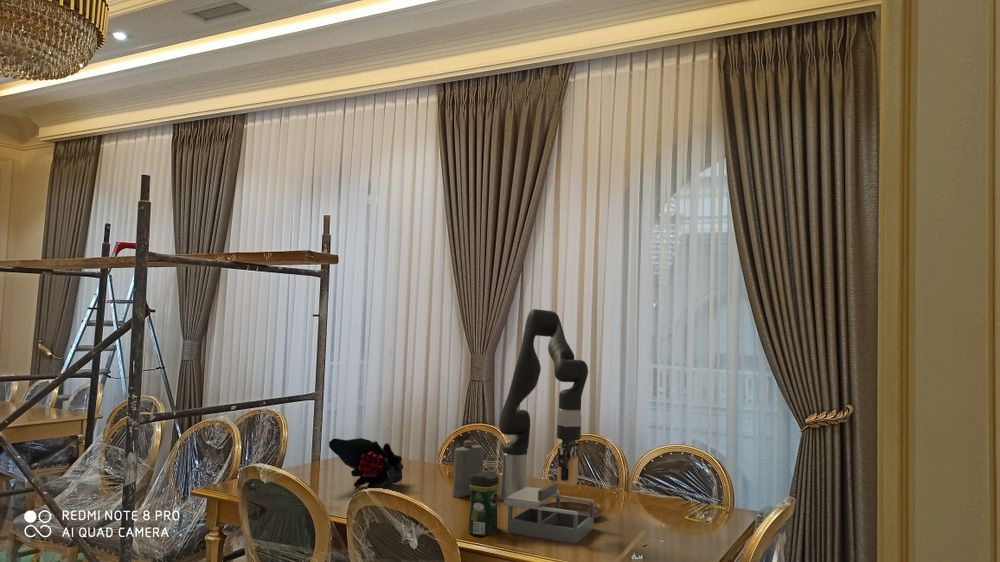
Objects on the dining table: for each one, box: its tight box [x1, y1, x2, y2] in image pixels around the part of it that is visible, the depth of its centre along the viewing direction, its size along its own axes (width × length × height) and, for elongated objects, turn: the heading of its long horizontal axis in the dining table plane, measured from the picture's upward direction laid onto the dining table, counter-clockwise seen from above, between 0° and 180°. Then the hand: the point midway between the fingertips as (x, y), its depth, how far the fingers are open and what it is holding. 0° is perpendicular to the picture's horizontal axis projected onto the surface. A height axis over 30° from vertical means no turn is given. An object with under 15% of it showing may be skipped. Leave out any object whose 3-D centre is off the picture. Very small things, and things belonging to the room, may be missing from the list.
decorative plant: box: [328, 437, 404, 489], centre depth 269 cm, size 21×26×30 cm
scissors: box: [684, 498, 725, 523], centre depth 248 cm, size 25×10×5 cm, turn 140°
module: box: [556, 456, 579, 487], centre depth 216 cm, size 5×5×8 cm
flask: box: [452, 440, 484, 498], centre depth 266 cm, size 15×6×20 cm, turn 146°
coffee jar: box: [468, 470, 500, 537], centre depth 216 cm, size 10×8×19 cm
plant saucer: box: [542, 501, 604, 522], centre depth 237 cm, size 21×21×3 cm
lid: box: [503, 482, 560, 509], centre depth 220 cm, size 11×20×5 cm, turn 156°
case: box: [507, 494, 595, 545], centre depth 217 cm, size 22×18×10 cm
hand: (567, 478), depth 216 cm, fingers closed on module, 5 cm apart
